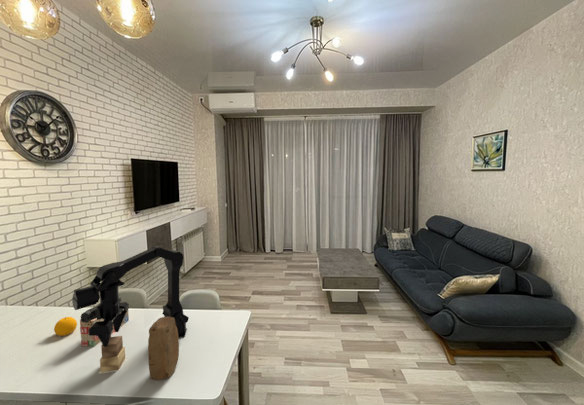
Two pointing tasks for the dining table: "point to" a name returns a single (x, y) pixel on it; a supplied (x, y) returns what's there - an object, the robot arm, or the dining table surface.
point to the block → (163, 348)
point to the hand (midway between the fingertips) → (111, 338)
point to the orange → (65, 326)
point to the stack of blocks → (95, 340)
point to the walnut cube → (112, 347)
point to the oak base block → (112, 362)
